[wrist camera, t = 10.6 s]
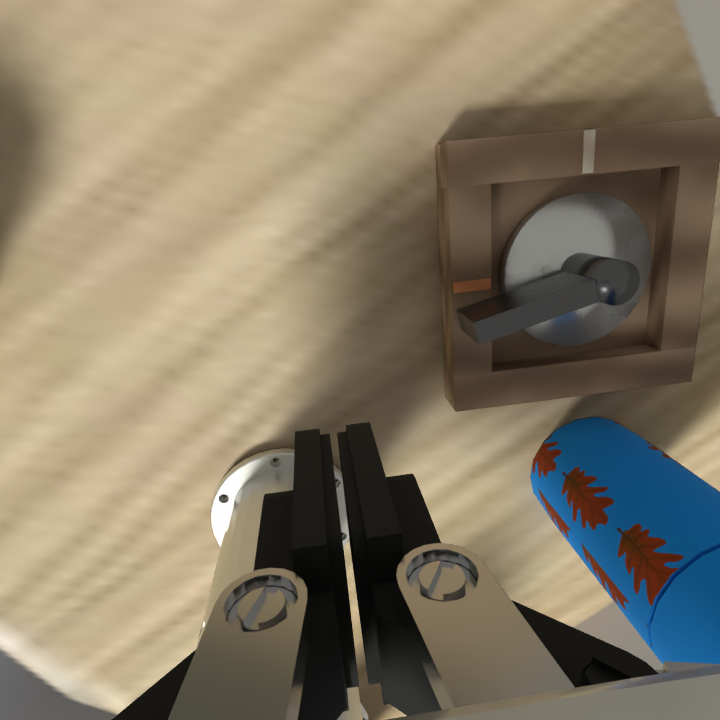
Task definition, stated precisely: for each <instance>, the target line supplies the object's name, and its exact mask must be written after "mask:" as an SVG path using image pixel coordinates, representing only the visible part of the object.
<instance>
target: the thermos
mask: <svg viewBox="0 0 720 720" xmlns="http://www.w3.org/2000/svg"><path fill="white" fill-rule="evenodd" d="M530 477H531V482H532V487H533V492H534V494H535V495H536V497H537V498H538V500H539V501H540V503H541V504H542V506H543V507H544V509H545V510H546V512H547V513H548V515H549V516H550V518H551V519H552V521H553V522H554V523H555V525H556V526H557V528H558V529H559V530H560V532H561V533H562V534H563V536H564V537H565V538H566V539H567V541H568V542H569V543H570V545H571V546H572V547H573V549H574V550H575V551H576V552H577V554H578V555H579V556H580V558H581V559H582V560H583V562H584V563H585V564H586V565H587V567H588V568H589V569H590V571H591V572H592V573H593V575H594V576H595V577H596V578H597V580H598V581H599V582H600V584H601V585H602V586H603V587H604V589H605V590H606V591H607V593H608V594H609V595H610V597H611V598H612V599H613V600H614V602H615V603H616V604H617V605H618V607H619V608H620V610H621V611H622V612H623V613H624V615H625V616H626V617H627V619H628V620H629V621H630V622H631V624H632V625H633V626H634V628H635V629H636V630H637V632H638V633H639V634H640V635H641V637H642V638H643V639H644V640H645V642H646V643H647V645H648V646H649V647H650V648H651V650H652V651H653V652H654V653H655V655H656V656H657V657H658V659H659V660H660V661H661V663H662V664H664V661H669V662H689V663H709V664H720V492H719V491H718V490H716V489H715V488H713V487H712V486H711V485H709V484H708V483H706V482H705V481H704V480H702V479H701V478H699V477H698V476H696V475H695V474H694V473H692V472H691V471H689V470H688V469H686V468H685V467H684V466H682V465H681V464H679V463H678V462H677V461H675V460H674V459H672V458H671V457H669V456H668V455H667V454H665V453H664V452H662V451H661V450H659V449H658V448H657V447H655V446H654V445H652V444H651V443H649V442H648V441H646V440H645V439H643V438H642V437H640V436H638V435H637V434H635V433H633V432H632V431H630V430H628V429H627V428H625V427H623V426H622V425H620V424H619V423H617V422H615V421H614V420H609V419H604V418H599V417H591V418H585V419H578V420H575V421H573V422H571V423H569V424H567V425H565V426H563V427H561V428H559V429H557V430H556V431H555V432H554V433H553V434H552V435H551V436H550V437H549V438H548V439H547V440H545V441H544V442H543V444H542V446H541V447H540V449H539V451H538V453H537V454H536V456H535V458H534V460H533V465H532V471H531V476H530Z"/></svg>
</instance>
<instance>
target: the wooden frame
mask: <svg viewBox="0 0 720 720" xmlns="http://www.w3.org/2000/svg"><path fill="white" fill-rule="evenodd" d="M435 147H436V173H437V198H438V224H439V250H440V276H441V302H442V328H443V353H444V379H445V397H446V399H447V400H448V401H449V403H450V404H451V406H452V407H453V408H454V410H455V411H456V412H457V411H465V410H473V409H481V408H488V407H496V406H504V405H512V404H520V403H527V402H535V401H543V400H551V399H558V398H566V397H574V396H582V395H589V394H597V393H605V392H613V391H621V390H628V389H636V388H644V387H652V386H659V385H667V384H675V383H683V382H690V381H691V380H692V372H693V365H694V357H695V349H696V341H697V333H698V326H699V318H700V310H701V302H702V295H703V287H704V279H705V271H706V263H707V256H708V248H709V240H710V232H711V225H712V217H713V209H714V201H715V193H716V186H717V178H718V170H719V162H720V117H713V118H702V119H690V120H679V121H667V122H656V123H645V124H633V125H622V126H611V127H599V128H588V129H577V130H565V131H554V132H542V133H531V134H520V135H508V136H497V137H486V138H474V139H463V140H451V141H446V142H443V143H441V144H438V145H436V146H435ZM580 192H595V193H601V194H606V195H609V196H612V197H614V198H616V199H618V200H620V201H622V202H623V203H625V204H626V205H628V206H629V207H630V208H631V209H632V210H633V211H634V212H635V213H636V214H637V216H638V217H639V218H640V220H641V221H642V223H643V225H644V227H645V229H646V232H647V235H648V238H649V243H650V248H651V267H650V272H649V277H648V281H647V284H646V287H645V289H644V292H643V294H642V296H641V298H640V300H639V302H638V303H637V305H636V306H635V308H634V309H633V311H632V312H631V313H630V314H629V315H628V317H627V318H626V319H625V320H624V321H623V322H622V323H621V324H620V325H618V326H617V327H616V328H615V329H613V330H612V331H611V332H609V333H608V334H606V335H604V336H602V337H601V338H598V339H596V340H594V341H591V342H588V343H584V344H580V345H574V346H561V345H554V344H550V343H546V342H544V341H541V340H539V339H537V338H535V337H534V336H532V335H530V334H529V333H527V332H525V331H524V330H523V329H522V330H519V331H516V332H514V333H511V334H508V335H505V336H502V337H500V338H497V339H494V340H491V341H488V342H485V343H483V344H480V345H479V344H478V343H477V342H476V341H474V340H473V339H472V338H471V337H470V336H468V335H467V334H466V333H465V332H464V331H462V330H461V326H460V322H459V319H458V315H457V311H456V310H458V309H460V308H463V307H466V306H469V305H472V304H474V303H477V302H480V301H483V300H486V299H488V298H491V297H494V296H497V295H500V288H499V268H500V262H501V258H502V254H503V251H504V248H505V246H506V244H507V242H508V240H509V238H510V236H511V234H512V233H513V231H514V230H515V228H516V227H517V226H518V224H519V223H520V222H521V221H522V219H524V218H525V217H526V216H527V215H528V214H529V213H530V212H531V211H532V210H534V209H535V208H536V207H537V206H539V205H541V204H542V203H544V202H546V201H548V200H550V199H552V198H555V197H557V196H561V195H564V194H569V193H580Z"/></svg>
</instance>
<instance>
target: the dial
mask: <svg viewBox="0 0 720 720" xmlns="http://www.w3.org/2000/svg"><path fill="white" fill-rule="evenodd" d="M650 267H651V248H650V243H649V238H648V235H647V232H646V229H645V227H644V225H643V223H642V221H641V220H640V218H639V217H638V216H637V214H636V213H635V212H634V211H633V210H632V209H631V208H630V207H629V206H628V205H626V204H625V203H623V202H622V201H620V200H618V199H616V198H614V197H612V196H609V195H606V194H601V193H595V192H580V193H569V194H564V195H561V196H557V197H555V198H552V199H550V200H548V201H546V202H544V203H542V204H541V205H539V206H537V207H536V208H535V209H534V210H532V211H531V212H530V213H529V214H528V215H527V216H526V217H525V218H524V219H522V221H521V222H520V223H519V224H518V226H517V227H516V228H515V230H514V231H513V233H512V234H511V236H510V238H509V240H508V242H507V244H506V246H505V248H504V251H503V254H502V258H501V262H500V268H499V288H500V295H497V296H494V297H491V298H488V299H486V300H483V301H480V302H477V303H474V304H472V305H469V306H466V307H463V308H460V309H458V310H456V311H457V315H458V319H459V322H460V326H461V330H462V331H464V332H465V333H466V334H467V335H468V336H470V337H471V338H472V339H473V340H474V341H476V342H477V343H478V344H479V345H480V344H483V343H485V342H488V341H491V340H494V339H497V338H500V337H502V336H505V335H508V334H511V333H514V332H516V331H519V330H522V329H523V330H524V331H525V332H527V333H529V334H530V335H532V336H534V337H535V338H537V339H539V340H541V341H544V342H546V343H550V344H554V345H561V346H574V345H580V344H584V343H588V342H591V341H594V340H596V339H598V338H601V337H602V336H604V335H606V334H608V333H609V332H611V331H612V330H613V329H615V328H616V327H617V326H618V325H620V324H621V323H622V322H623V321H624V320H625V319H626V318H627V317H628V315H629V314H630V313H631V312H632V311H633V309H634V308H635V306H636V305H637V303H638V302H639V300H640V298H641V296H642V294H643V292H644V289H645V287H646V284H647V281H648V277H649V272H650Z"/></svg>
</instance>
